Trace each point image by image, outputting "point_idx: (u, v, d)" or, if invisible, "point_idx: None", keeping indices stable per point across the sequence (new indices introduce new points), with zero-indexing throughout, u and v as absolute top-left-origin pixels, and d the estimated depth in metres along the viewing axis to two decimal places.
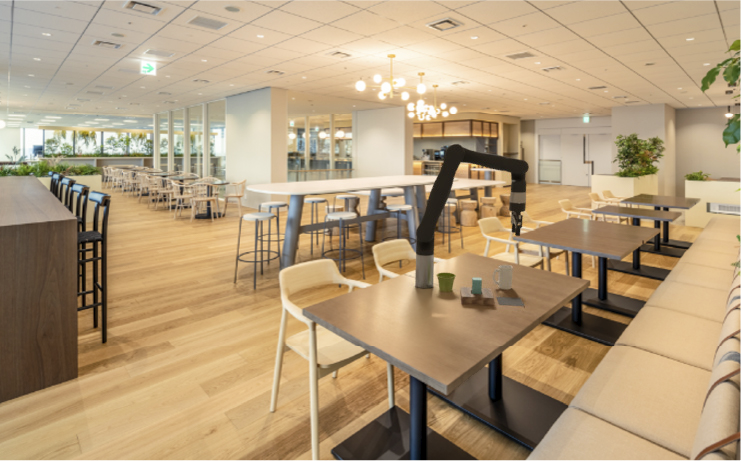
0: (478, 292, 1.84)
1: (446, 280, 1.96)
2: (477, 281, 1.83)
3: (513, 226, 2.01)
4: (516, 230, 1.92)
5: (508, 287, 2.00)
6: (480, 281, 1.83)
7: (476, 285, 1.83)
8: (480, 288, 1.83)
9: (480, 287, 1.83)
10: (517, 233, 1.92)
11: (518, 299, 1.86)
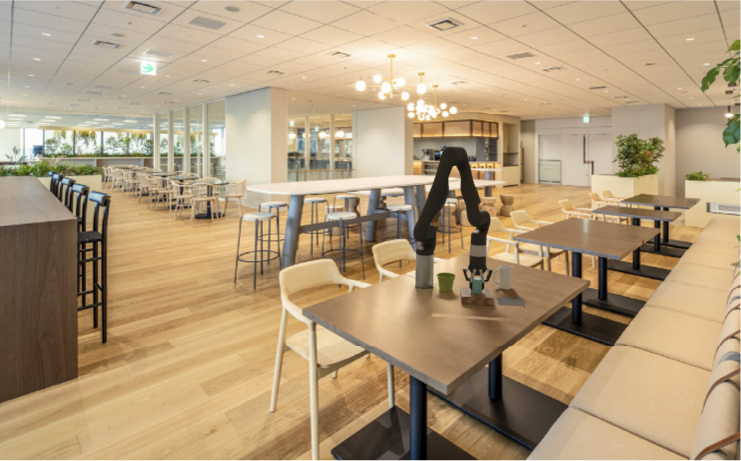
0: (478, 292, 1.84)
1: (446, 280, 1.96)
2: (477, 281, 1.83)
3: (472, 283, 1.85)
4: (482, 285, 1.84)
5: (508, 287, 2.00)
6: (480, 281, 1.83)
7: (476, 285, 1.83)
8: (480, 288, 1.83)
9: (480, 287, 1.83)
10: (483, 287, 1.85)
11: (518, 299, 1.86)
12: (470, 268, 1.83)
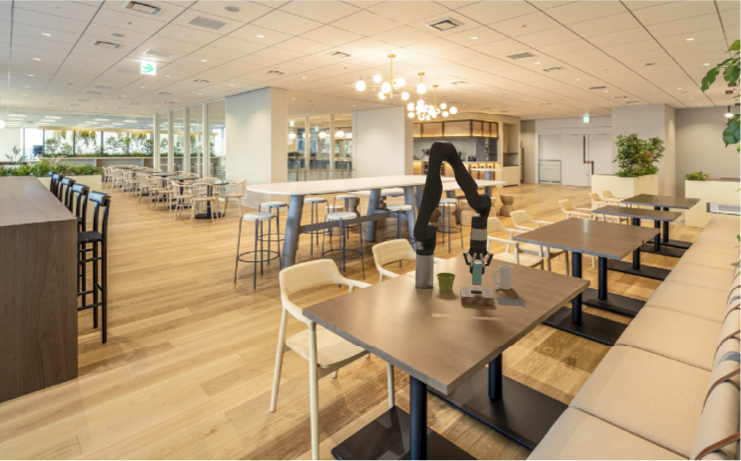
0: (478, 276, 1.82)
1: (446, 280, 1.96)
2: (477, 265, 1.82)
3: (472, 267, 1.84)
4: (483, 269, 1.83)
5: (508, 287, 2.00)
6: (480, 265, 1.81)
7: (476, 269, 1.82)
8: (480, 272, 1.82)
9: (480, 271, 1.82)
10: None
11: (518, 299, 1.86)
12: (470, 252, 1.82)
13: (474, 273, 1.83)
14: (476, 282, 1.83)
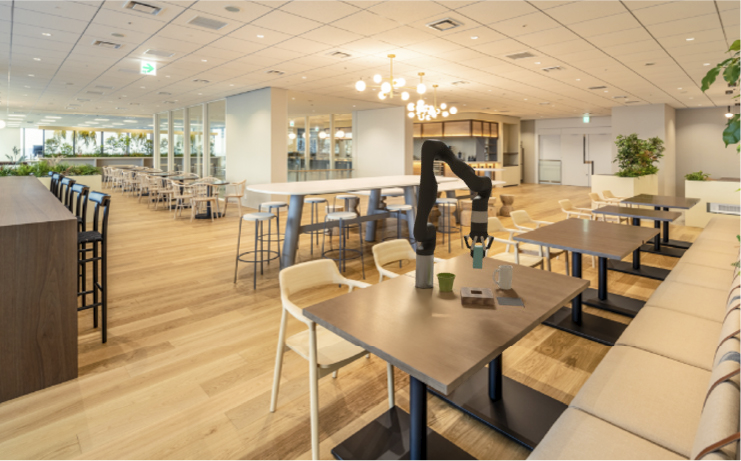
0: (479, 260, 1.81)
1: (446, 280, 1.96)
2: (478, 248, 1.80)
3: (473, 251, 1.82)
4: (484, 252, 1.81)
5: (508, 287, 2.00)
6: (481, 248, 1.80)
7: (477, 252, 1.81)
8: (481, 255, 1.80)
9: (481, 254, 1.80)
10: None
11: (518, 299, 1.86)
12: (471, 235, 1.81)
13: (475, 256, 1.81)
14: (477, 265, 1.82)
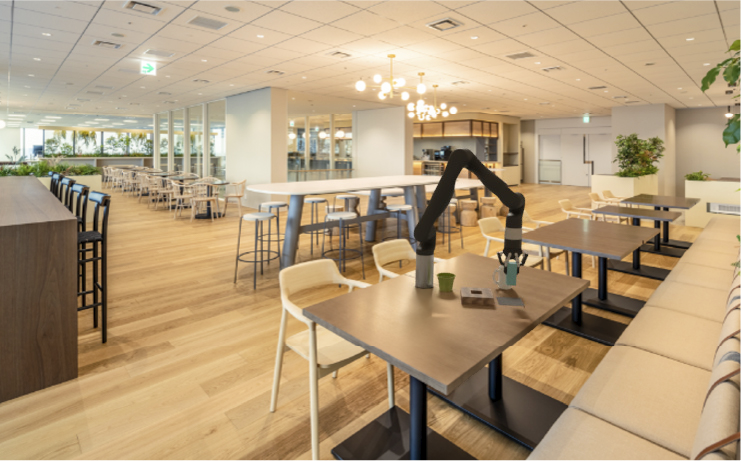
0: (513, 276, 1.79)
1: (446, 280, 1.96)
2: (512, 265, 1.79)
3: None
4: (517, 269, 1.80)
5: (508, 287, 2.00)
6: (515, 265, 1.78)
7: (511, 269, 1.79)
8: (515, 272, 1.79)
9: (515, 271, 1.79)
10: (518, 272, 1.80)
11: (518, 299, 1.86)
12: (505, 252, 1.79)
13: (509, 273, 1.80)
14: (511, 282, 1.80)
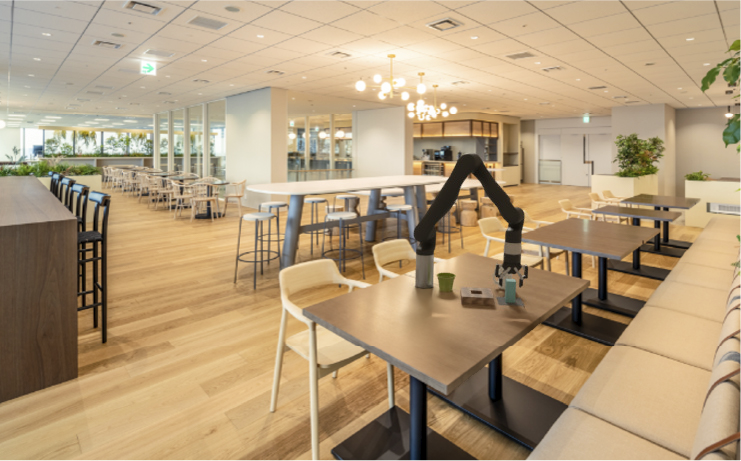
0: (512, 294, 1.81)
1: (446, 280, 1.96)
2: (511, 283, 1.80)
3: None
4: None
5: None
6: (514, 283, 1.80)
7: (510, 287, 1.81)
8: (514, 290, 1.80)
9: (514, 289, 1.80)
10: None
11: (518, 299, 1.86)
12: (504, 266, 1.80)
13: (508, 290, 1.81)
14: (510, 299, 1.82)
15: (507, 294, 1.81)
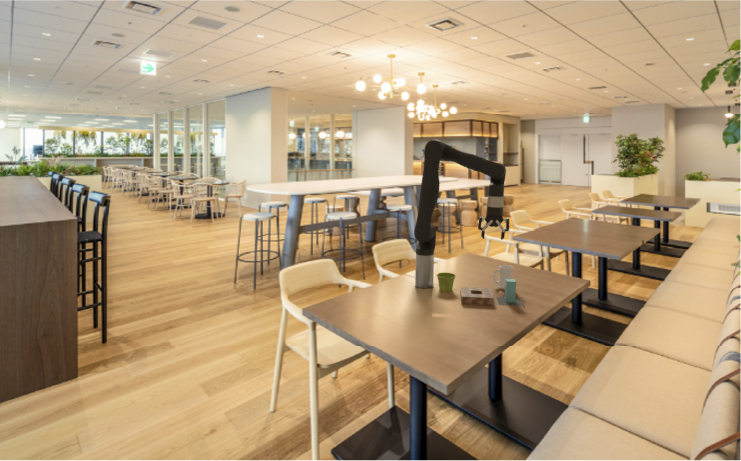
0: (512, 294, 1.81)
1: (446, 280, 1.96)
2: (511, 283, 1.80)
3: (484, 232, 1.92)
4: (503, 234, 1.90)
5: None
6: (514, 283, 1.80)
7: (510, 287, 1.81)
8: (514, 290, 1.80)
9: (514, 289, 1.80)
10: (503, 237, 1.91)
11: (518, 299, 1.86)
12: (487, 219, 1.90)
13: (508, 290, 1.81)
14: (510, 299, 1.82)
15: (507, 294, 1.81)
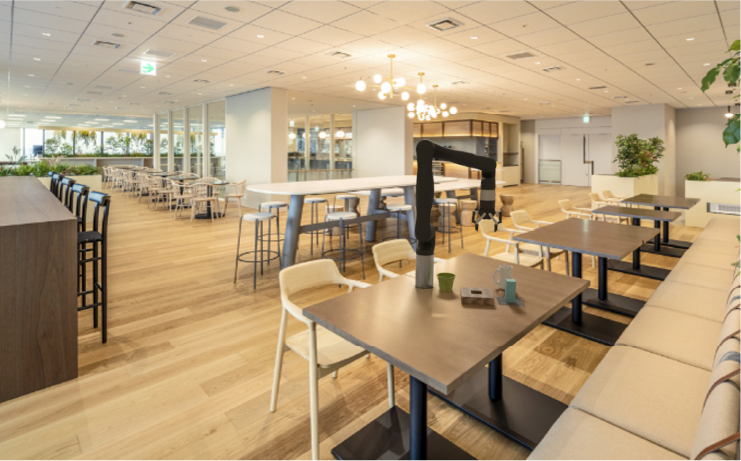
0: (512, 294, 1.81)
1: (446, 280, 1.96)
2: (511, 283, 1.80)
3: None
4: (496, 226, 1.96)
5: None
6: (514, 283, 1.80)
7: (510, 287, 1.81)
8: (514, 290, 1.80)
9: (514, 289, 1.80)
10: None
11: (518, 299, 1.86)
12: (480, 212, 1.96)
13: (508, 290, 1.81)
14: (510, 299, 1.82)
15: (507, 294, 1.81)
